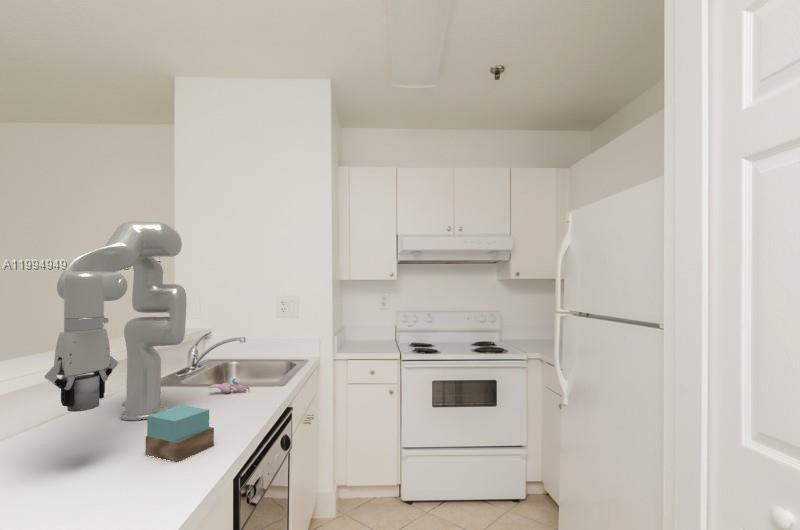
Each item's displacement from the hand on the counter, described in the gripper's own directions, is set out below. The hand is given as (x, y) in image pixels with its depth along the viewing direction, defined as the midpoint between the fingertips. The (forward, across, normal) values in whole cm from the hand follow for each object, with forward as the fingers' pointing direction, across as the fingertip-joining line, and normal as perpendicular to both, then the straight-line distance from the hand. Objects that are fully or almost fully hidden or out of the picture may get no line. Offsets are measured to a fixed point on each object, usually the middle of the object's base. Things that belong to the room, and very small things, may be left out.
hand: (83, 401), depth 99 cm
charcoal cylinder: (+1, 0, 0) cm, 1 cm away
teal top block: (+11, -15, +13) cm, 23 cm away
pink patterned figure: (+17, -63, -18) cm, 68 cm away
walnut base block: (+16, -15, +13) cm, 26 cm away
